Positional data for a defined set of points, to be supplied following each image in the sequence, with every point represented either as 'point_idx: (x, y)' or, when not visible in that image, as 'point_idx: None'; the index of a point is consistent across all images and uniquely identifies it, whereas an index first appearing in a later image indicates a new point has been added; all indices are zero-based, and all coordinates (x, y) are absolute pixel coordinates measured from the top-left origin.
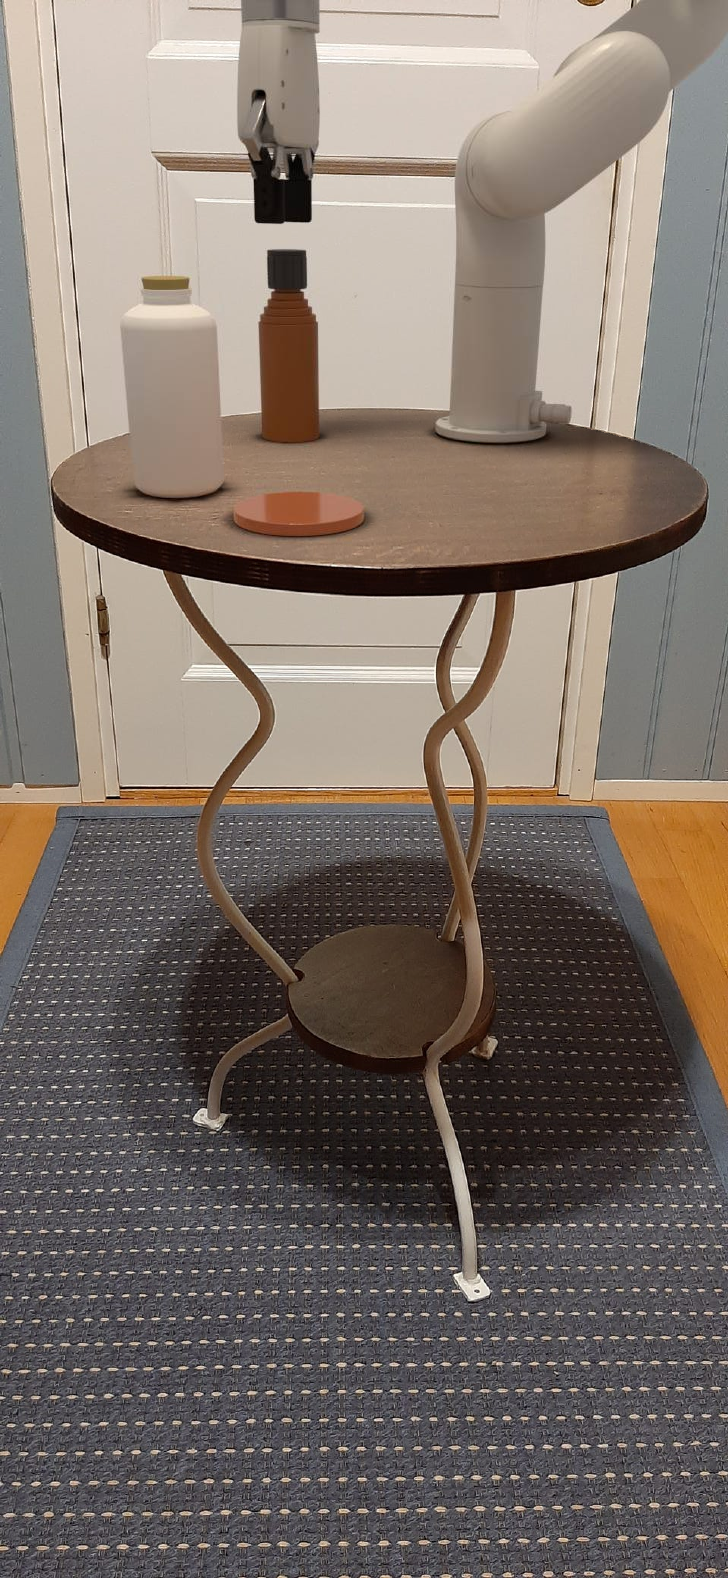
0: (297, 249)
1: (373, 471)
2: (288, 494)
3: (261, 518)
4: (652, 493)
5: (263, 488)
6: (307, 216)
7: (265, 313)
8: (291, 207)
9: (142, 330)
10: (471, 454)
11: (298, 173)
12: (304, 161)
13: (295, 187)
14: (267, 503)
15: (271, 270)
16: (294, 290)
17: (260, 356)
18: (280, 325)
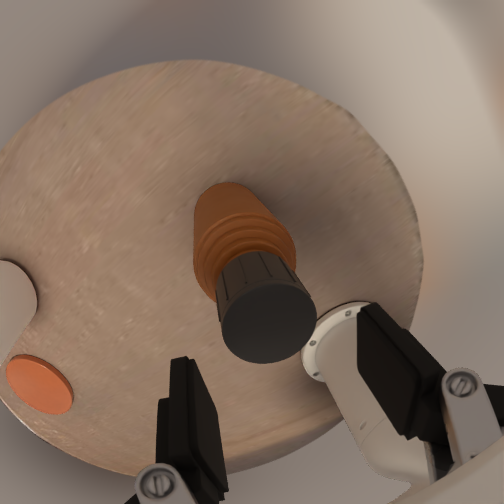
0: (314, 321)
1: (157, 360)
2: (46, 372)
3: (12, 384)
4: (228, 464)
5: (58, 331)
6: (361, 375)
7: (209, 250)
8: (372, 354)
9: None
10: (262, 375)
11: (424, 431)
12: (430, 472)
13: (399, 401)
14: (26, 373)
15: (219, 298)
16: None
17: (201, 220)
18: (199, 283)
